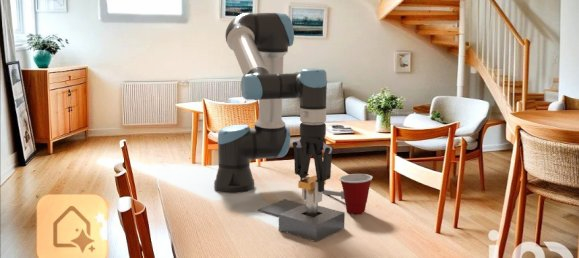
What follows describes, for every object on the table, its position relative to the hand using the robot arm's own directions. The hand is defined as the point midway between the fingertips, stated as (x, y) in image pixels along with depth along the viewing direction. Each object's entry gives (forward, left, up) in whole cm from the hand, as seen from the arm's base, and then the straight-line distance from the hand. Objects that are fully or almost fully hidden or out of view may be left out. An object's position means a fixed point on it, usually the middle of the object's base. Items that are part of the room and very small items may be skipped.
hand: (311, 200), depth 163 cm
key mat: (-16, +9, -9) cm, 20 cm away
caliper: (-11, +29, -10) cm, 33 cm away
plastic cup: (+1, +22, -9) cm, 24 cm away
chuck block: (0, 0, -9) cm, 9 cm away
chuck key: (0, 0, -8) cm, 8 cm away
